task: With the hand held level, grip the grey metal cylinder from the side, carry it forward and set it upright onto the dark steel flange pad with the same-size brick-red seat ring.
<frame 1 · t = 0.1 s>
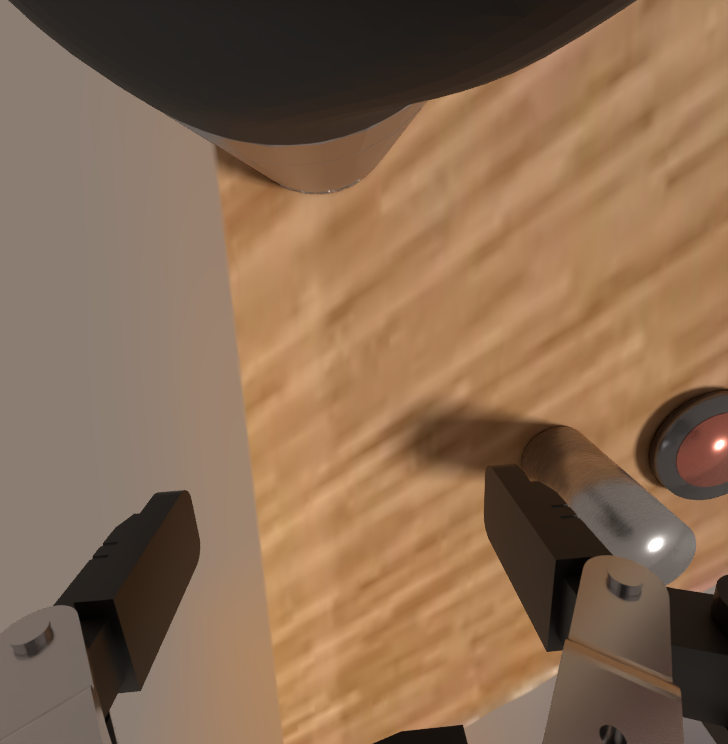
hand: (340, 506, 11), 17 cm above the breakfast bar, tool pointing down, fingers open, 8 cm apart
grey metal cylinder: (555, 456, 31), on the breakfast bar
flange pad: (706, 443, 32), on the breakfast bar
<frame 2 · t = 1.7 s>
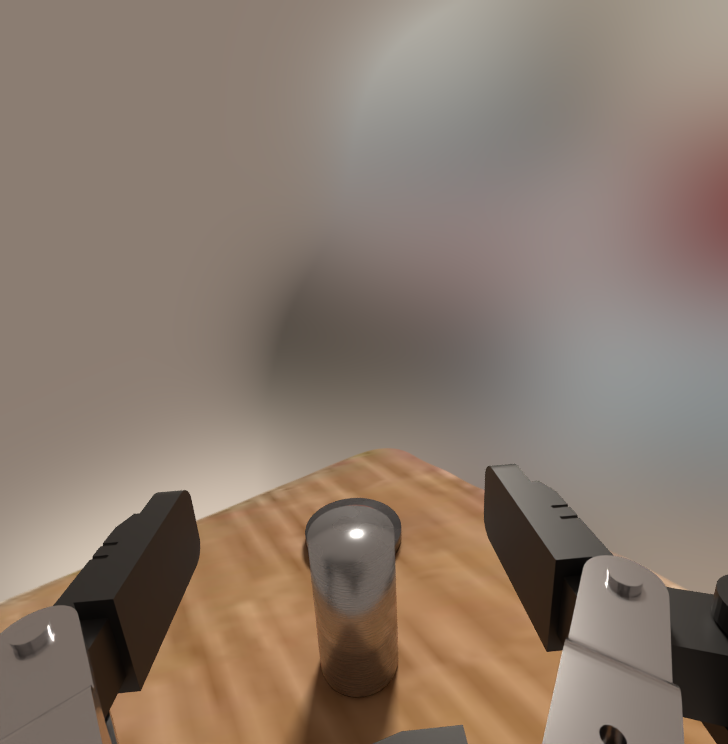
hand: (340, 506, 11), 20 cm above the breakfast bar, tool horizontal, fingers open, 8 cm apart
grey metal cylinder: (359, 656, 28), on the breakfast bar
flange pad: (353, 535, 39), on the breakfast bar
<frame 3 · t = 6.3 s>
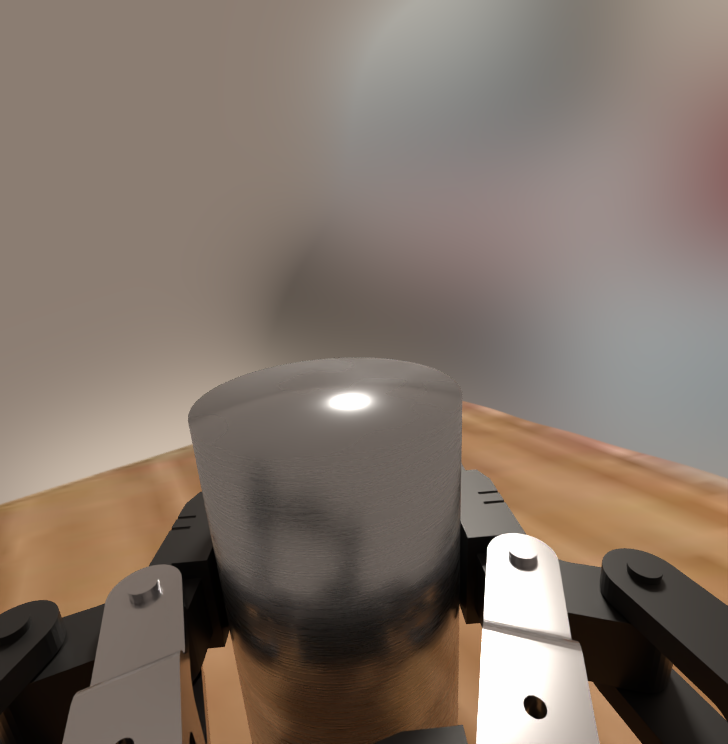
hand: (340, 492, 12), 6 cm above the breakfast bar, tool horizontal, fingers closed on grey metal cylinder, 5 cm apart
grey metal cylinder: (358, 739, 11), on the breakfast bar, touching gripper
when the fingers open (8 cm above the breakfast bar, at t = 11.0 s): grey metal cylinder drops 1 cm, resting on flange pad.
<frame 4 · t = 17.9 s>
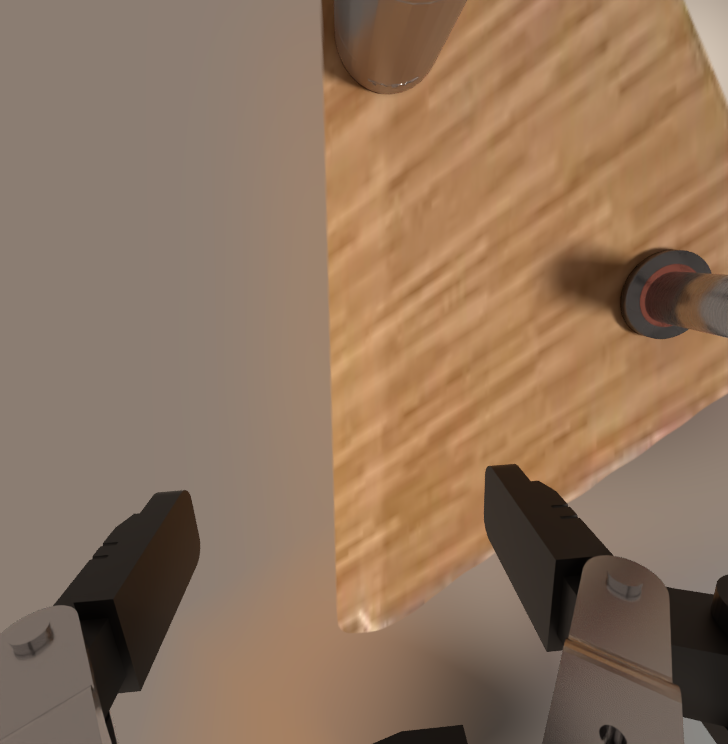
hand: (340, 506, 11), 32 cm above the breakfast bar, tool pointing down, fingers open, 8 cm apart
grey metal cylinder: (669, 297, 42), point 1 cm above the breakfast bar, touching flange pad
flange pad: (662, 294, 43), on the breakfast bar
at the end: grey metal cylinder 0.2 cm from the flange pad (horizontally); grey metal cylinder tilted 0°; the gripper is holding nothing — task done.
